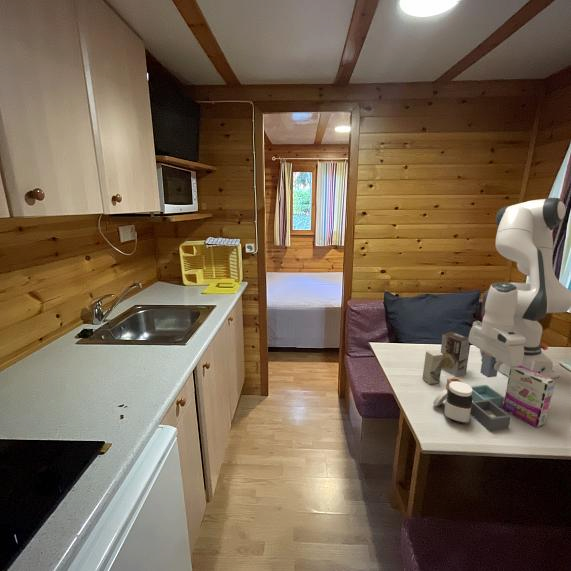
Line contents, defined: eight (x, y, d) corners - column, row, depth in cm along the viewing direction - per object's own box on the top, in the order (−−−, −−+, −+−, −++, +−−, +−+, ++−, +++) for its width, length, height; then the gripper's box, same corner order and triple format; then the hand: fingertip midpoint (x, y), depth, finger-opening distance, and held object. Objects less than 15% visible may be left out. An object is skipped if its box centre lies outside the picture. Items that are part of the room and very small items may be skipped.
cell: (488, 371, 113) (492, 347, 111) (496, 376, 110) (501, 352, 108) (480, 372, 113) (484, 348, 110) (487, 377, 109) (492, 352, 107)
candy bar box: (546, 424, 102) (556, 380, 98) (537, 428, 100) (547, 384, 96) (510, 404, 112) (519, 363, 108) (501, 408, 110) (509, 367, 106)
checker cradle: (484, 408, 110) (486, 397, 109) (508, 428, 100) (510, 416, 99) (466, 410, 109) (468, 399, 108) (489, 431, 99) (491, 419, 98)
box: (429, 384, 125) (432, 355, 121) (421, 379, 129) (425, 350, 125) (440, 382, 126) (444, 354, 123) (432, 377, 130) (436, 349, 127)
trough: (485, 393, 119) (486, 384, 118) (502, 406, 111) (503, 397, 110) (466, 395, 118) (467, 386, 117) (482, 408, 110) (483, 399, 109)
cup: (455, 388, 122) (457, 377, 120) (463, 395, 118) (465, 383, 116) (445, 389, 121) (447, 378, 120) (453, 396, 117) (454, 385, 116)
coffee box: (466, 373, 132) (472, 338, 128) (456, 377, 130) (461, 341, 126) (447, 363, 140) (452, 330, 136) (437, 367, 138) (442, 333, 133)
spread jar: (469, 429, 100) (474, 398, 97) (431, 418, 106) (434, 388, 102) (468, 408, 110) (473, 379, 107) (433, 399, 116) (437, 371, 113)
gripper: (466, 319, 116) (461, 352, 120) (513, 342, 97) (505, 381, 100) (481, 318, 117) (476, 351, 121) (530, 341, 98) (522, 379, 101)
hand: (489, 365), depth 110 cm, fingers closed on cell, 3 cm apart
